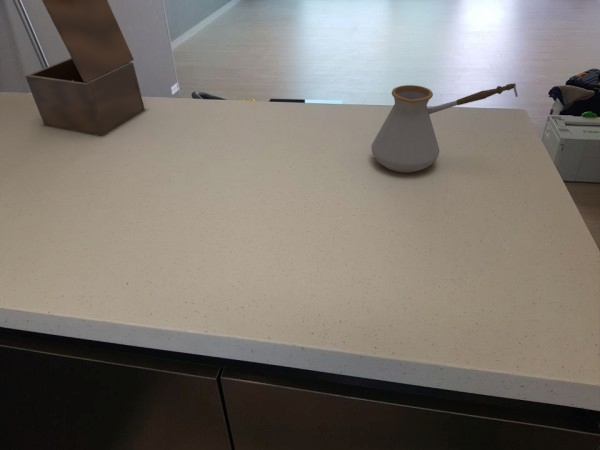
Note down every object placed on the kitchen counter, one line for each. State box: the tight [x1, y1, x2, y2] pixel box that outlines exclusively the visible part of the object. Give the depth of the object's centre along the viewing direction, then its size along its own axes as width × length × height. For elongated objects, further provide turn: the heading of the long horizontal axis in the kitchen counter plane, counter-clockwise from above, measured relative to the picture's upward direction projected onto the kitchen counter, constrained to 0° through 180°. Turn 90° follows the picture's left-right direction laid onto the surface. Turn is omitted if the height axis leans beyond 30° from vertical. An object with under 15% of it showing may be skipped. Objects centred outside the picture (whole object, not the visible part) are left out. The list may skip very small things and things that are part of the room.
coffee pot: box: [371, 82, 518, 174], centre depth 75 cm, size 21×12×15 cm, turn 78°
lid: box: [41, 0, 135, 83], centre depth 84 cm, size 16×14×5 cm
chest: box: [24, 57, 146, 137], centre depth 95 cm, size 16×14×11 cm
